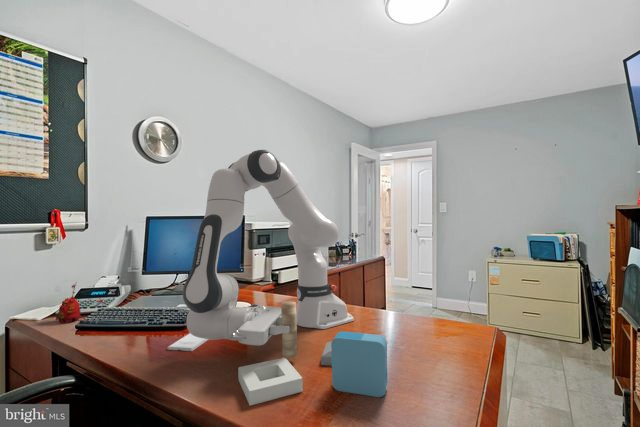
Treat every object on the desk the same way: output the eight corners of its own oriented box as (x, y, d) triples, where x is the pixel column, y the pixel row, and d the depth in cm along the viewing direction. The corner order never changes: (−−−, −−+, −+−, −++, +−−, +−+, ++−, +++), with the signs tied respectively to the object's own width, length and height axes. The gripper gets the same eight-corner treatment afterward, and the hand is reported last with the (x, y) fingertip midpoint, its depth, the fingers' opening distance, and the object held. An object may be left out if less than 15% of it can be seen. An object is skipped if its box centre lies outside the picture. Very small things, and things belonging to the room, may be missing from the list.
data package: (387, 388, 72) (386, 335, 72) (385, 398, 68) (384, 342, 68) (337, 380, 76) (336, 330, 76) (331, 390, 72) (330, 337, 72)
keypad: (326, 338, 94) (377, 341, 91) (326, 351, 94) (377, 354, 91) (321, 352, 84) (378, 355, 82) (321, 366, 84) (378, 369, 82)
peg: (294, 350, 89) (293, 300, 89) (299, 356, 85) (298, 304, 85) (280, 353, 87) (279, 302, 87) (285, 359, 83) (284, 306, 83)
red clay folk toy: (53, 322, 124) (53, 284, 124) (73, 317, 130) (73, 281, 131) (65, 325, 121) (65, 285, 121) (85, 319, 127) (85, 282, 128)
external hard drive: (213, 337, 107) (191, 353, 94) (191, 336, 108) (167, 351, 96) (213, 332, 107) (191, 347, 94) (191, 331, 108) (167, 346, 96)
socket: (285, 369, 82) (285, 357, 82) (302, 391, 71) (302, 378, 71) (238, 379, 77) (238, 367, 77) (249, 405, 66) (249, 391, 66)
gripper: (227, 325, 78) (281, 327, 76) (257, 302, 98) (300, 303, 96) (227, 350, 78) (281, 353, 76) (257, 322, 98) (301, 324, 96)
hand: (292, 325), depth 86 cm, fingers closed on peg, 4 cm apart
